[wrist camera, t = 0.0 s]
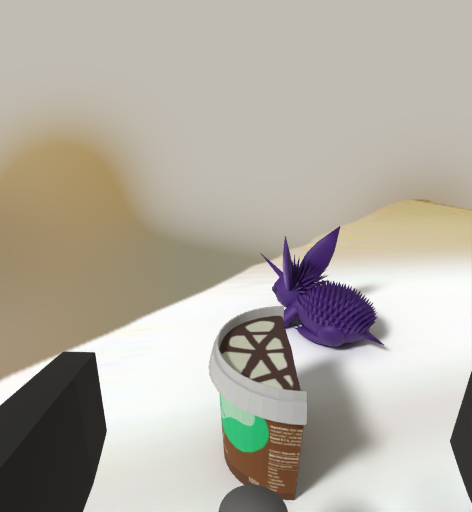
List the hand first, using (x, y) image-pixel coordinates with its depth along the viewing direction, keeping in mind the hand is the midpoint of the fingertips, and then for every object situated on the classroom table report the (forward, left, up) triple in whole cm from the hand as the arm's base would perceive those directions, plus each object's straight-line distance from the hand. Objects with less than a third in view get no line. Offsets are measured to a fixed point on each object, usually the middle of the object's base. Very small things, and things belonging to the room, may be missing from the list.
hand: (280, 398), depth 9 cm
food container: (+21, 0, -22) cm, 30 cm away
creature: (+41, -8, -22) cm, 47 cm away
